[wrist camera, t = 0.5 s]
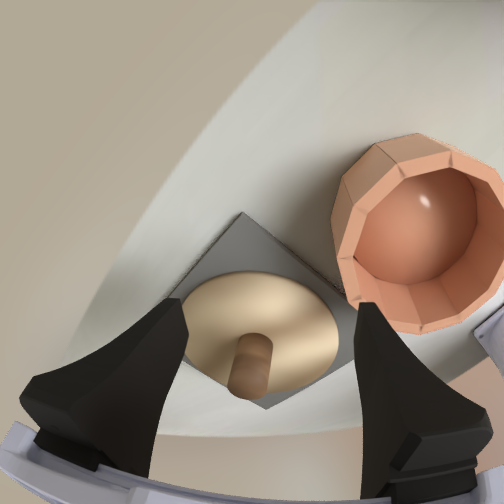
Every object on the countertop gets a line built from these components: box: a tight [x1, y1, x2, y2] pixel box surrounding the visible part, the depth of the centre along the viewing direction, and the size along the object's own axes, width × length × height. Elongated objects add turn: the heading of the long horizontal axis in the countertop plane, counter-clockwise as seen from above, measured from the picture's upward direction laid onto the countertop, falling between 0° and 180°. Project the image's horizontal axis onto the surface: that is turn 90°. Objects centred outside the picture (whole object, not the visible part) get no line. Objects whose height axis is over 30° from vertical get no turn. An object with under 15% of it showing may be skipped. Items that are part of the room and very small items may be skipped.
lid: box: [182, 270, 339, 400], centre depth 24 cm, size 13×13×5 cm
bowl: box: [330, 133, 504, 335], centre depth 17 cm, size 11×11×5 cm
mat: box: [168, 212, 358, 410], centre depth 26 cm, size 15×15×1 cm
